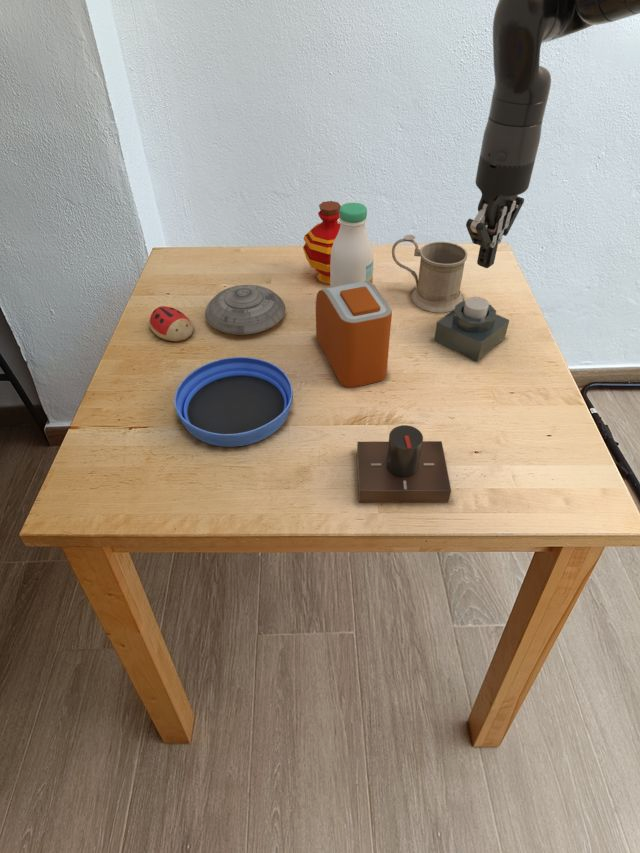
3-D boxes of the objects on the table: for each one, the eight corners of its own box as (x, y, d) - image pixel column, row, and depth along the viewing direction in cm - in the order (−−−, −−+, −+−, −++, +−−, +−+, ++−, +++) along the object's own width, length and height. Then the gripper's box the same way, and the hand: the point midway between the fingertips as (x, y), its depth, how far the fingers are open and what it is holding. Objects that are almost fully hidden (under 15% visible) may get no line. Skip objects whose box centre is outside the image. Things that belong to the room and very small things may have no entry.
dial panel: (439, 452, 84) (441, 440, 83) (448, 502, 78) (451, 489, 76) (356, 453, 85) (357, 440, 83) (359, 502, 78) (360, 490, 76)
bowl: (249, 468, 83) (246, 452, 80) (154, 423, 90) (149, 406, 87) (315, 395, 94) (314, 378, 91) (226, 360, 100) (223, 343, 98)
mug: (464, 288, 115) (475, 231, 107) (460, 315, 109) (471, 257, 100) (392, 279, 118) (397, 223, 110) (384, 306, 111) (388, 248, 103)
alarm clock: (391, 379, 96) (398, 310, 87) (343, 390, 94) (344, 320, 85) (360, 329, 106) (363, 262, 97) (315, 338, 104) (314, 270, 95)
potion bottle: (356, 264, 122) (358, 194, 112) (353, 291, 115) (355, 219, 105) (306, 263, 123) (304, 193, 113) (300, 289, 116) (297, 217, 105)
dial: (383, 454, 81) (386, 424, 77) (415, 451, 81) (419, 422, 77) (389, 478, 78) (392, 449, 74) (421, 475, 78) (426, 446, 74)
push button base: (504, 338, 104) (512, 310, 99) (477, 362, 99) (483, 333, 95) (462, 319, 108) (467, 290, 104) (433, 340, 103) (438, 312, 99)
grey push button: (491, 312, 100) (493, 302, 98) (478, 322, 98) (480, 312, 96) (471, 303, 102) (473, 293, 100) (458, 313, 100) (460, 303, 98)
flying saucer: (295, 300, 113) (294, 275, 109) (272, 345, 103) (269, 320, 99) (223, 290, 116) (219, 266, 112) (193, 334, 106) (188, 308, 102)
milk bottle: (355, 326, 107) (359, 222, 93) (322, 311, 110) (320, 209, 96) (378, 306, 111) (385, 205, 97) (345, 293, 115) (347, 193, 100)
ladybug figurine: (173, 349, 103) (169, 332, 100) (140, 327, 108) (136, 311, 105) (202, 332, 106) (199, 315, 104) (169, 311, 111) (166, 295, 109)
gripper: (509, 133, 86) (486, 242, 98) (458, 160, 79) (441, 273, 92) (556, 146, 82) (526, 257, 95) (507, 174, 76) (482, 290, 88)
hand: (484, 265), depth 93 cm, fingers closed
